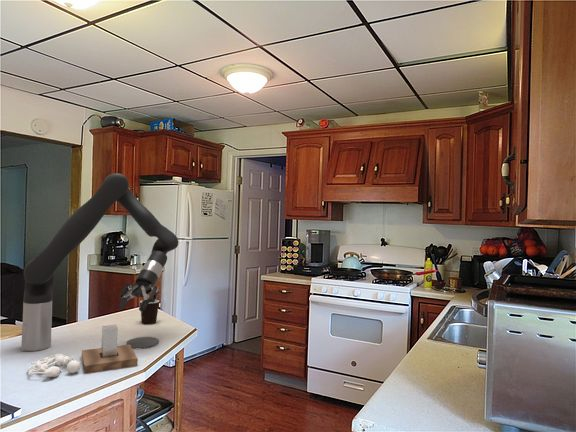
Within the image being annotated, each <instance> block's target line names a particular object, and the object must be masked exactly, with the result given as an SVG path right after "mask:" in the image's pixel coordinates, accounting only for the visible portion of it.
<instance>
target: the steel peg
mask: <svg viewBox="0 0 576 432" xmlns="http://www.w3.org/2000/svg"><path fill="white" fill-rule="evenodd" d="M118 331H119V327H118V326H117V324H110V325H102V329H101V348H102V352H101V358H106V357H113V356H117V346H118V336H119V334H118V333H119V332H118Z"/></svg>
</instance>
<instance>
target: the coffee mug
mask: <svg viewBox="0 0 576 432" xmlns="http://www.w3.org/2000/svg"><path fill="white" fill-rule="evenodd" d="M143 300H144V299H143ZM143 300H140V301H139V306H140V305H141V303H142V301H143ZM159 307H160V300H159V299H155V302H153V303H152V302H150V303H148V305H147V307H146V308H145V310H143V312H141V311H140V316H141V317H140V318H141V324H142V325H154V324H156V323H157V321H158V320H157V319H158V313H159Z"/></svg>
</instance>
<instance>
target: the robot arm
mask: <svg viewBox="0 0 576 432" xmlns="http://www.w3.org/2000/svg"><path fill="white" fill-rule="evenodd" d="M129 186H130V182H129V180H128V178H127V176H125V175H124V174H122V173H117V172H116V173H115V172H114V173H110V174H108V175H107V176H105V179H103V182H102V184H101V185H100V186H99V188H98V189H97V191H96V192H95V193H94V194H93V195H92V196H91V198H90V199H89V200H87V201H86V202H85V203H84V204H82V205H81V206H80V207H79V208H78V209H76V210H75V211H74V213H72V215H71V216H69V218H68V219H66V221H65V222H64V223H63V224H62V226H61V227H60V228H59V230H58V231H57V233H56V234H55V235H54V237H53V238H52V239H51V241H50V242H49V244H48V245H46V247H45V248H44V249H43V250H42V251H41V252H40V253H39V254H38V255H37V256H36V257H34V258H33V259H31V260H30V261H28V263H27V264H26V265H25V267H24V269H23V278H24V292H23V304H22V324H21V343H20V345H21V346H20V347H21V348H20V349H21V350H20V351H21V352H35V351H37V352H38V351H42V350H45V349H48V348H50V347H51V346H52V324H53V323H52V321H53V319H52V318H53V296H54V276H55V275H54V274H55V272H56V270H57V269H58V268H59V266H60V265H61V263H62V262H63V261H64V260H65V259H66V258H67V256H68V255H70V254H71V253H72V252H73V251H74V250H75V249H76V248H77V247H78V246H79V245H80V244H81V243H82V242H83V241H84V240H85V239H86V238H87V237H88V236H89V235H90V234H91V232H92V231H94V229H95V228H96V227H97V226H98V225H99V223H100V221H101V220H102V218H103V217H104V215H105V214H106V213H107V211H109V208H111V207H112V206H113V205H114V204H115V203H116V202H118V203H119V205H120V206H122V207H123V208H124V209H125V210H126V211H127V212H128V214H129V215H130V216H131V218H133V220H134V221H135V222H136V223H137V225H138V226H139V227H140V228H141V229H142V231H143V232H144V233H145V234H146V235H147V236H148V237H153V238H154V237H155V238H157V239H156V240H155V242H154V244H153V246H152V250H151V254H150V255H149V256H148V258H147V260H146V261H145V263H144V265H143V266H142V268H141V270H140V271H139V273H138V275H137V276H136V279H135V282H134V283H133V284H130V283H128V282H127V283H126V284H125V285H124V287H123V288H122V290H121V291H120V293H119V294H118V296H119V297H120V298H121V300H120V302H119V304H118V308H119V309H120V310H124V309H125V307H126V305H127V303H128V301H130V300H131V299H134V298H135V297H136V298H143V301H142V300H141V301H142V303H141V305H140V304H139V308H138V310H139V312H140V313H141V312H143V310H145V308H146V307H147V305H148V303H150V302H152V303H153V302H155V300H157V297H158V295H159V292H160V288H159V287H158V286H157V285H156V284H157V282H158V280H159V278H160V276H161V274H162V271H163V270H164V267H165V265H166V264H167V262H168V256H167V254H168V253H169V252H171V251H173V250H175V249H177V248H178V245H179V239H178V237H177V235H176V234H175V233H174V232H173V231H171V230H170V229H169V228H167V227H166V226H165V225H163V224H161V222H160V221H159V220H158V219H157V218H156V216H155V215H154V214H153V213H152V212H151V211H150V210H149V209H148V208H147V207H146V206H144V204H142V202H140V201H139V199H137V197H136V196H135V195H134V193H133V192H132V191H131V189H130V187H129Z"/></svg>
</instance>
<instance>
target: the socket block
mask: <svg viewBox="0 0 576 432" xmlns="http://www.w3.org/2000/svg"><path fill="white" fill-rule="evenodd" d="M101 352H102V347H99V348H98V347H97V348H90V349H82V350H81V357H80V358H81V364H82V367H83V373H84V374H92V373H97V372H99V373H100V372H106V371H110V370H111V371H113V370H119V369H125V368H131V367H132V368H133V367H137V366H138V364H139V363H138V360H139V359H138V356H137V355H136V353H135V351H134V348H132V347H131V346H130V344H129V345H127V344H123V345H117V356H113V357H106V358H101Z"/></svg>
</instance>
